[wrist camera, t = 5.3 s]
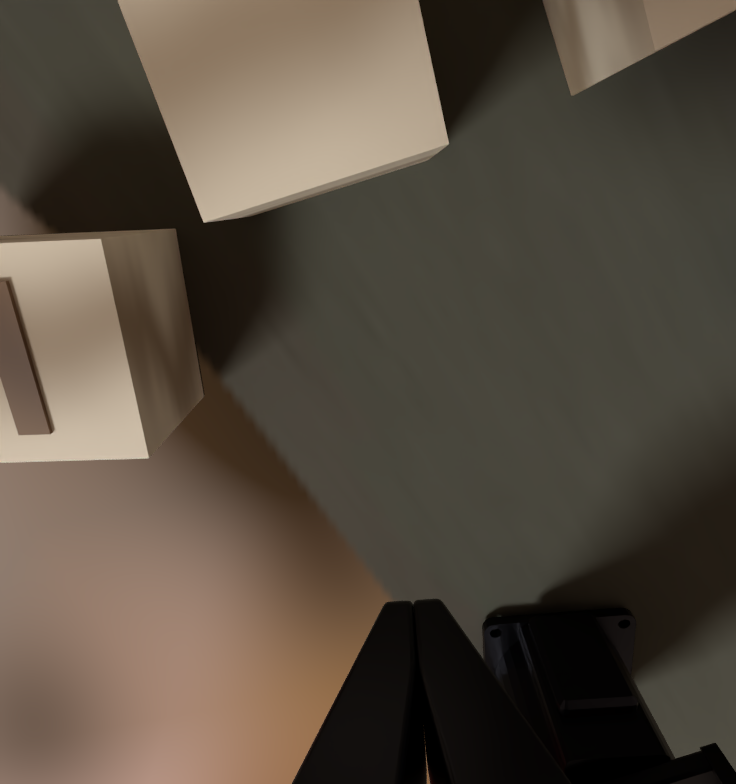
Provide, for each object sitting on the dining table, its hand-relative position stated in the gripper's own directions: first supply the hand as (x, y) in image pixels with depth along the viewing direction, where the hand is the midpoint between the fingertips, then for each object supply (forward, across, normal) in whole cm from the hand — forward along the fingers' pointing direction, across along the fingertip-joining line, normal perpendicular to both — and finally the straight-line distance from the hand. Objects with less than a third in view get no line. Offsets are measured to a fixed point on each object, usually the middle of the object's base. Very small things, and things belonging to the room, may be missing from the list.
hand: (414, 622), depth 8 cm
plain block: (+12, +2, -10) cm, 15 cm away
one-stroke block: (+12, +10, -3) cm, 16 cm away
